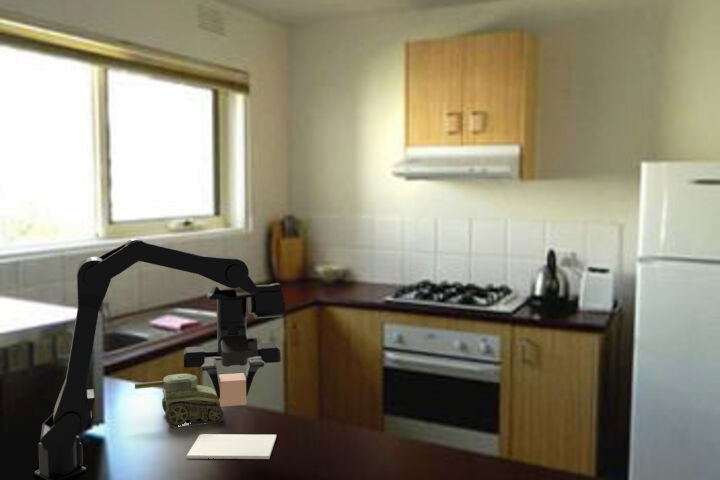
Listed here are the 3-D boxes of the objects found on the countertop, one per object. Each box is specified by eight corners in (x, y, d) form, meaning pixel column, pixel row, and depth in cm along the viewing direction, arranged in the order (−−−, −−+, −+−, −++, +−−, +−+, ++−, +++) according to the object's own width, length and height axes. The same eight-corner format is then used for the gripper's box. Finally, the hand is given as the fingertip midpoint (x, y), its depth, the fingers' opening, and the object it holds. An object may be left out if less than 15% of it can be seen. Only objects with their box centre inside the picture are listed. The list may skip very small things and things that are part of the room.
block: (220, 406, 132) (220, 381, 132) (219, 398, 137) (218, 374, 137) (246, 404, 133) (246, 380, 133) (243, 396, 138) (243, 373, 138)
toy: (134, 417, 153) (133, 374, 152) (216, 408, 160) (215, 367, 159) (137, 433, 144) (136, 387, 143) (223, 422, 151) (223, 378, 150)
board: (186, 458, 131) (186, 455, 130) (200, 436, 141) (200, 434, 141) (269, 458, 130) (269, 455, 130) (276, 437, 141) (276, 434, 141)
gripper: (183, 331, 124) (184, 414, 125) (284, 326, 128) (284, 406, 130) (183, 319, 134) (184, 395, 136) (276, 315, 139) (276, 389, 140)
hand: (232, 396), depth 135 cm, fingers closed on block, 5 cm apart
